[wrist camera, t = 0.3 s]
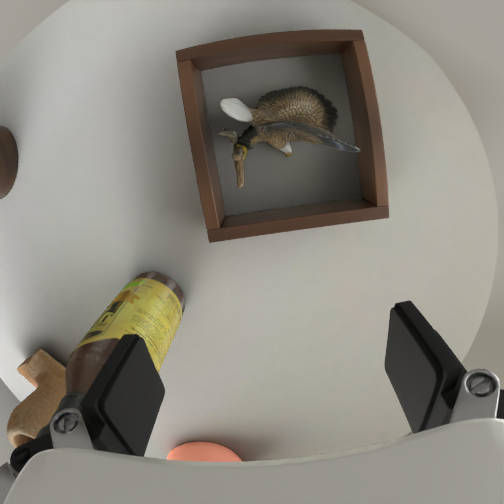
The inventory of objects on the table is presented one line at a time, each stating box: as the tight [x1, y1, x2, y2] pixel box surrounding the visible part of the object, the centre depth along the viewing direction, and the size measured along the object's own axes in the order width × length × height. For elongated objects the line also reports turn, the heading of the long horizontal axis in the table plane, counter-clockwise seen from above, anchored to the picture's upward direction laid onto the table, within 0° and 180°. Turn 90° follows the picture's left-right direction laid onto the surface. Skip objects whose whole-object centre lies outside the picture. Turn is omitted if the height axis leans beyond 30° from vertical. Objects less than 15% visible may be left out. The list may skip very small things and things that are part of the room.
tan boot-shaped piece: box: [7, 349, 66, 449], centre depth 27 cm, size 15×12×15 cm
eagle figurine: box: [219, 87, 360, 188], centre depth 21 cm, size 8×7×9 cm
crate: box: [176, 30, 389, 243], centre depth 21 cm, size 15×14×4 cm
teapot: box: [167, 442, 242, 462], centre depth 35 cm, size 12×18×10 cm
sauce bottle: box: [36, 272, 185, 438], centre depth 20 cm, size 6×6×20 cm
